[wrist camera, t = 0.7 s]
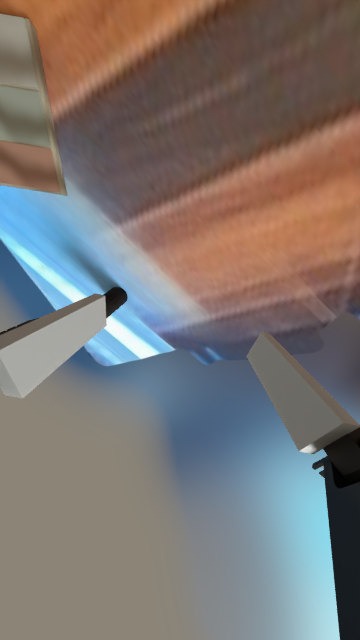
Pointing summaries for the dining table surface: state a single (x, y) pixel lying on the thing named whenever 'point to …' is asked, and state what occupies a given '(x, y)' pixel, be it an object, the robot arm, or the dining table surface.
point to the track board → (26, 113)
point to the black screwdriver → (114, 300)
